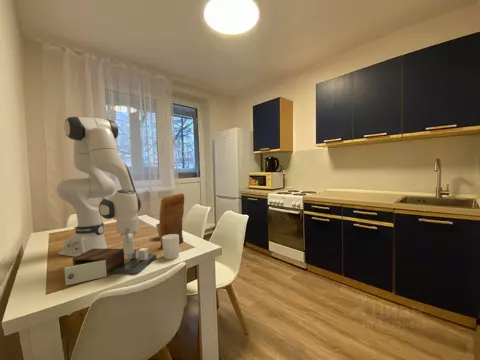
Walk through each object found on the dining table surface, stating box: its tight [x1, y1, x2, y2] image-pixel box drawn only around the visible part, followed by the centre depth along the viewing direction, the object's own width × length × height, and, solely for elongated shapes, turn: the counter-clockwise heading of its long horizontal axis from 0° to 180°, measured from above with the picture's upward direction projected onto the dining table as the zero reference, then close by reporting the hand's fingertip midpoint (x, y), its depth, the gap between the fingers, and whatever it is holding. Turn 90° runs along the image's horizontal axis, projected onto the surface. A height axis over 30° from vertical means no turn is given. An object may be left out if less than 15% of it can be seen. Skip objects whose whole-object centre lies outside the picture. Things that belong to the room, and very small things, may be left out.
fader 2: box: [138, 247, 149, 260], centre depth 101 cm, size 3×3×4 cm
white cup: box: [162, 234, 180, 260], centre depth 108 cm, size 8×8×10 cm
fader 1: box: [131, 246, 141, 259], centre depth 103 cm, size 3×3×4 cm
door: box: [64, 260, 108, 286], centre depth 86 cm, size 13×2×6 cm, turn 118°
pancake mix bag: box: [158, 192, 185, 250], centre depth 125 cm, size 7×19×28 cm, turn 149°
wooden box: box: [72, 248, 125, 276], centre depth 97 cm, size 15×11×7 cm
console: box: [111, 253, 158, 275], centre depth 100 cm, size 11×16×2 cm
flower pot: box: [155, 223, 160, 240], centre depth 139 cm, size 9×9×9 cm
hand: (130, 257), depth 100 cm, fingers closed
